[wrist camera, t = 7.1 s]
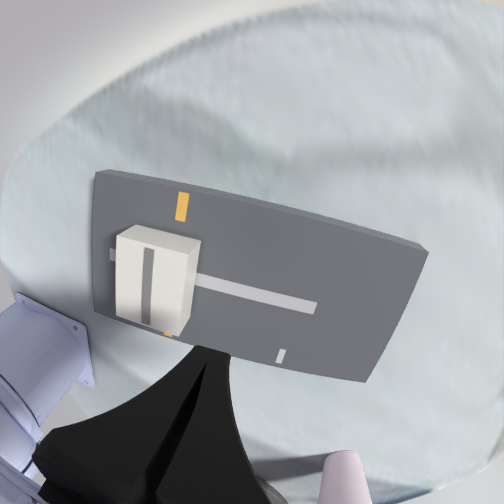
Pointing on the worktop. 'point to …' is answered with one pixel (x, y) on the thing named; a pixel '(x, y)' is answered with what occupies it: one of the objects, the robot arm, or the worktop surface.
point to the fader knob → (155, 278)
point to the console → (265, 274)
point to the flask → (272, 493)
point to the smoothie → (343, 480)
